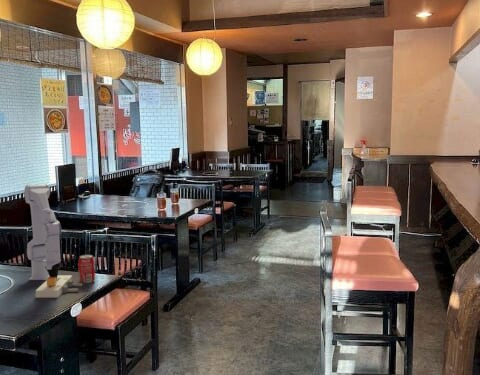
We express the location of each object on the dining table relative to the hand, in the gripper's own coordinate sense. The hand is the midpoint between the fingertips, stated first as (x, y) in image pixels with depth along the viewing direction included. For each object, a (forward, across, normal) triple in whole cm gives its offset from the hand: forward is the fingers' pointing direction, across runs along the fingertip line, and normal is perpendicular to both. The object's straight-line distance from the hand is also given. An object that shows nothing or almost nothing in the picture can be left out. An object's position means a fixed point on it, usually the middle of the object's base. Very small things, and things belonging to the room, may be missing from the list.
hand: (53, 280), depth 198 cm
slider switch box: (+4, -1, 0) cm, 4 cm away
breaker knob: (+1, +3, 0) cm, 3 cm away
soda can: (+4, -10, +12) cm, 16 cm away
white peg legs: (+4, -1, +8) cm, 9 cm away
